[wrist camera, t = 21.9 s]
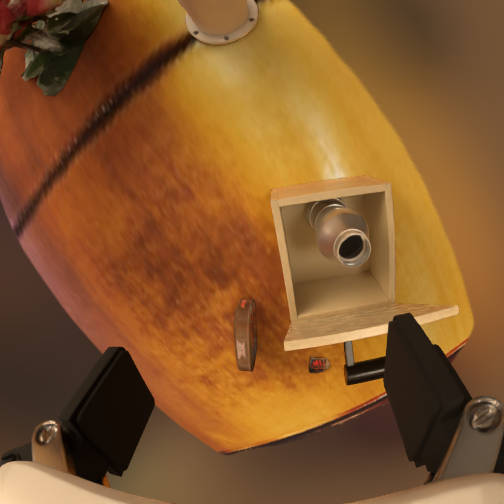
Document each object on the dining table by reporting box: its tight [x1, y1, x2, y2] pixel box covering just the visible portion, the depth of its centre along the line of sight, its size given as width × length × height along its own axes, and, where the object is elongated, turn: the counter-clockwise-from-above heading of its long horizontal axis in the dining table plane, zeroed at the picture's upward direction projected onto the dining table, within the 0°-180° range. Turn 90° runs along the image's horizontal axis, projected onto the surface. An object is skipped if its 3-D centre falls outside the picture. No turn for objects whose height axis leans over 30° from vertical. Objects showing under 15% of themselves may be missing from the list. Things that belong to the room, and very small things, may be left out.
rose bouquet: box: [0, 0, 108, 97], centre depth 23 cm, size 26×29×30 cm
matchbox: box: [309, 356, 330, 373], centre depth 58 cm, size 5×5×1 cm
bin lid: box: [284, 303, 459, 385], centre depth 30 cm, size 19×16×5 cm
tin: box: [234, 299, 257, 372], centre depth 52 cm, size 15×3×8 cm, turn 2°
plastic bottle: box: [306, 198, 371, 268], centre depth 37 cm, size 6×7×20 cm
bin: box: [270, 175, 395, 322], centre depth 43 cm, size 18×16×12 cm
